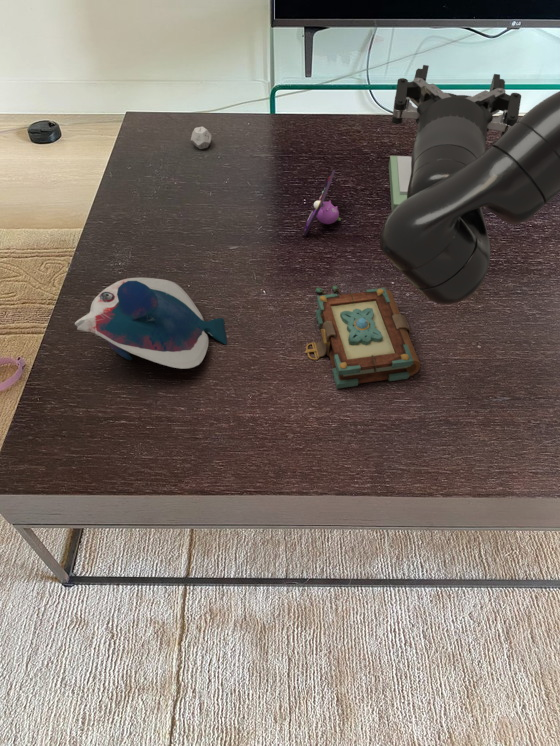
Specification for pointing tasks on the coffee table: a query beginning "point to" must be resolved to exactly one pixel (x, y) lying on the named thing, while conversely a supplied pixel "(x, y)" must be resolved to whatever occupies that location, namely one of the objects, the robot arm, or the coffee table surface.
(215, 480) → the coffee table surface
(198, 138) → the game die
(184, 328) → the decorative fish sculpture
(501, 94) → the robot arm
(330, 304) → the decorative book
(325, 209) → the purple winged figurine
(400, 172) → the scale
